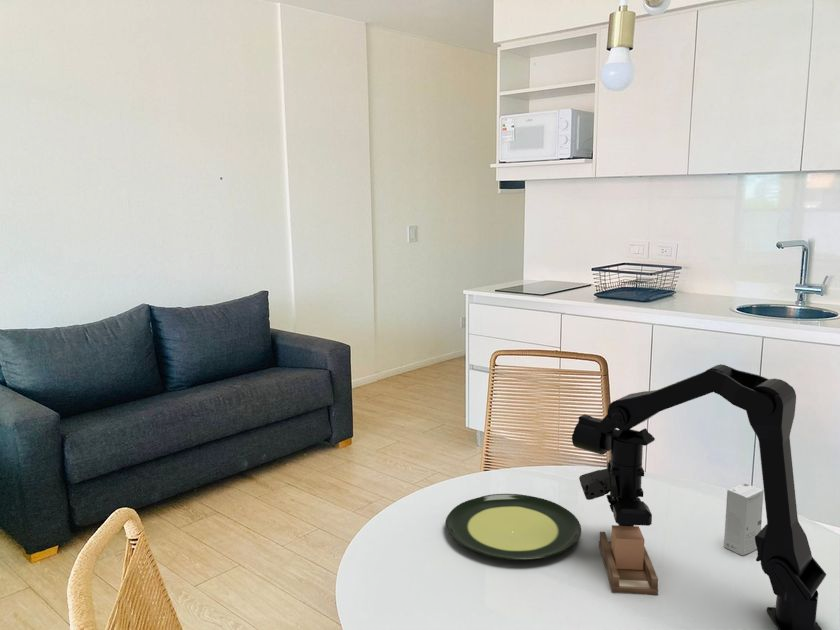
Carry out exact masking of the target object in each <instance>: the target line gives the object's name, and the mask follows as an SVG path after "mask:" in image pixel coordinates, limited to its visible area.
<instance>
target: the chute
mask: <svg viewBox="0 0 840 630" xmlns="http://www.w3.org/2000/svg"><path fill="white" fill-rule="evenodd" d="M598 548H599V550H600V555H601V557H602V561H603V564H604V568H605V572H606V576H607V579H608V581H609V585H610V588H611V592H612V593H616V594H617V593H620V594H636V595H637V594H638V595H654V596H655V595H656V596H659V577H658V574H657V573H656V570H655V568H654V566H653V562H652V561H651V559H650V556H649V554H648V551H647V548H646V546H645V545H644V562H643V570H633V569H617V568H616V565H615V562H614V559H613V555H612V552H611V540H610V541H609V540H608V536H607V533H606V532H605V531H600V532H599V541H598Z"/></svg>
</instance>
